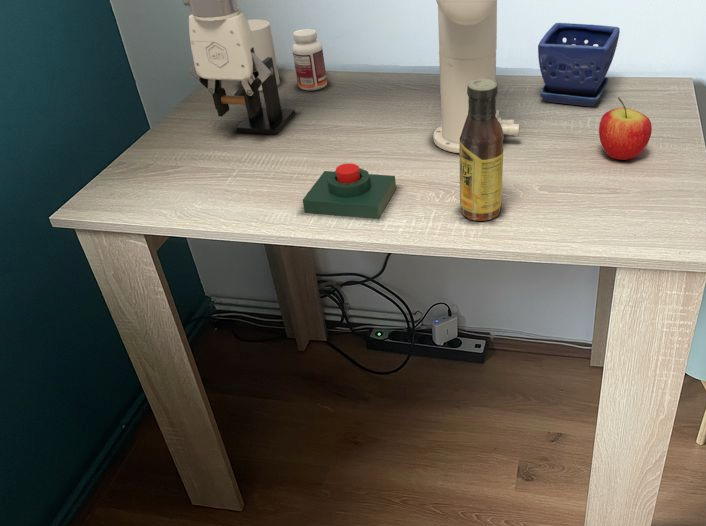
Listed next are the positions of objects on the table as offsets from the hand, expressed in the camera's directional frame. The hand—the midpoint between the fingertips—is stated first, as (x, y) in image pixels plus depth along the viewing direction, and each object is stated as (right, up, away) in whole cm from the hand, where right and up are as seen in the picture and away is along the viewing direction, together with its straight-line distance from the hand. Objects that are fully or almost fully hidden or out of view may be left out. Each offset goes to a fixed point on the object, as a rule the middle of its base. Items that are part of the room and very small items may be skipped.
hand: (238, 113), depth 129 cm
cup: (-3, +15, +28) cm, 32 cm away
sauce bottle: (+42, -22, -19) cm, 51 cm away
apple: (+66, -9, -6) cm, 67 cm away
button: (+21, -16, -16) cm, 31 cm away
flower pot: (+63, +8, +15) cm, 65 cm away
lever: (+1, +5, +3) cm, 6 cm away
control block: (+22, -18, -14) cm, 32 cm away
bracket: (+2, +2, +11) cm, 11 cm away
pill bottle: (+9, +14, +26) cm, 30 cm away
